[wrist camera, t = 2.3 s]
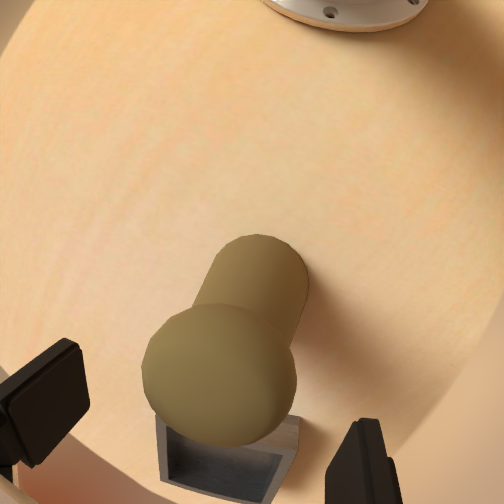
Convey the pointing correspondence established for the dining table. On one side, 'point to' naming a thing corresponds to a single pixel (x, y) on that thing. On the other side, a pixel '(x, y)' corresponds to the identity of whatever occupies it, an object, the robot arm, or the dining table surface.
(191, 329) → the cork
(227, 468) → the socket
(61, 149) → the dining table surface
